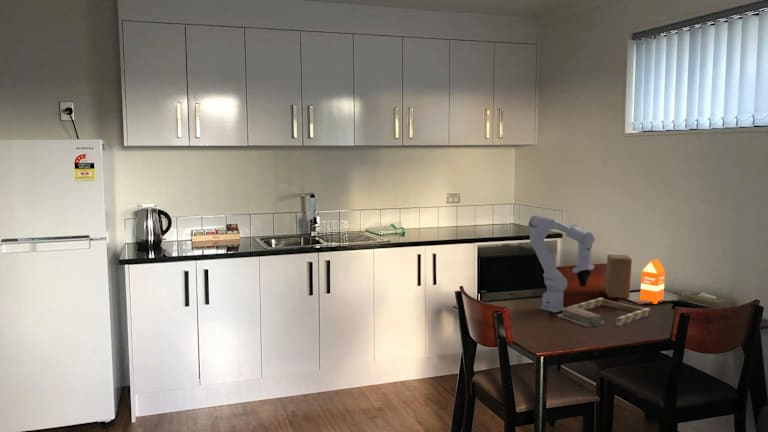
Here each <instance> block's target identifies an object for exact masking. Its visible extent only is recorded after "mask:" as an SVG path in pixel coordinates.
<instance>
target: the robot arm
mask: <svg viewBox="0 0 768 432" xmlns="http://www.w3.org/2000/svg"><path fill="white" fill-rule="evenodd" d="M527 227H528V228H529V242H530V243H531V246H532V248H533V249H534V253H535V255H536V256H537V259H538V260H539V263H540V265H541V267H542V269H543V271H544V273H543V274H542V276H543V279H544V280H543V281H544V284H545V286H546V291H545V292H543V294H542V301H541V302H542V303H541V307H540V310H543V311H547V312H551V313H557V312H561V311H562V312H563V309H565V308H566V307H565V306H564V292H565V290H566V289H567V287H568V279H567V278H566V277H564V276H563V273H561V271H560V270H559V269H558V268H557V267H556V266H557V265H556V264H555V261H554V260H553V258H552V255H551V254H550V251H549V249H548V247H547V244H546V242H545V238H546V237H547V236H548V234H549V233H550V232H551V231H552V230H554V229H555V230H557V231H559V232H563V233H564V234H565V236H566V237H567V238H569V239H571V240H573V241H574V240H575V241H576V242H577V244H578V245H577V246H578V247H577V265H576V266H575V267H573V268H572V273H573V274H576V276H577V278H578V279H577V280H578V283H579V287H582V288H585V287H586V285H587V282H588V281H589V278H590V275H592V270H595V265H594V264H591V260H592V248H593V244H594V242H595V240H596V238H595V236H594V234H593V233H592V232H590V231H586V229H584V228H580V227H578V225H576V224H569V225H566V224H565V223H564V222H563V223H562V222H560V221H559V220H556V219H554V218H550V217H545V216H541V215H536V214H534V215H532V216H531V218H530V219H529V221H528V224H527Z"/></svg>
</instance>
